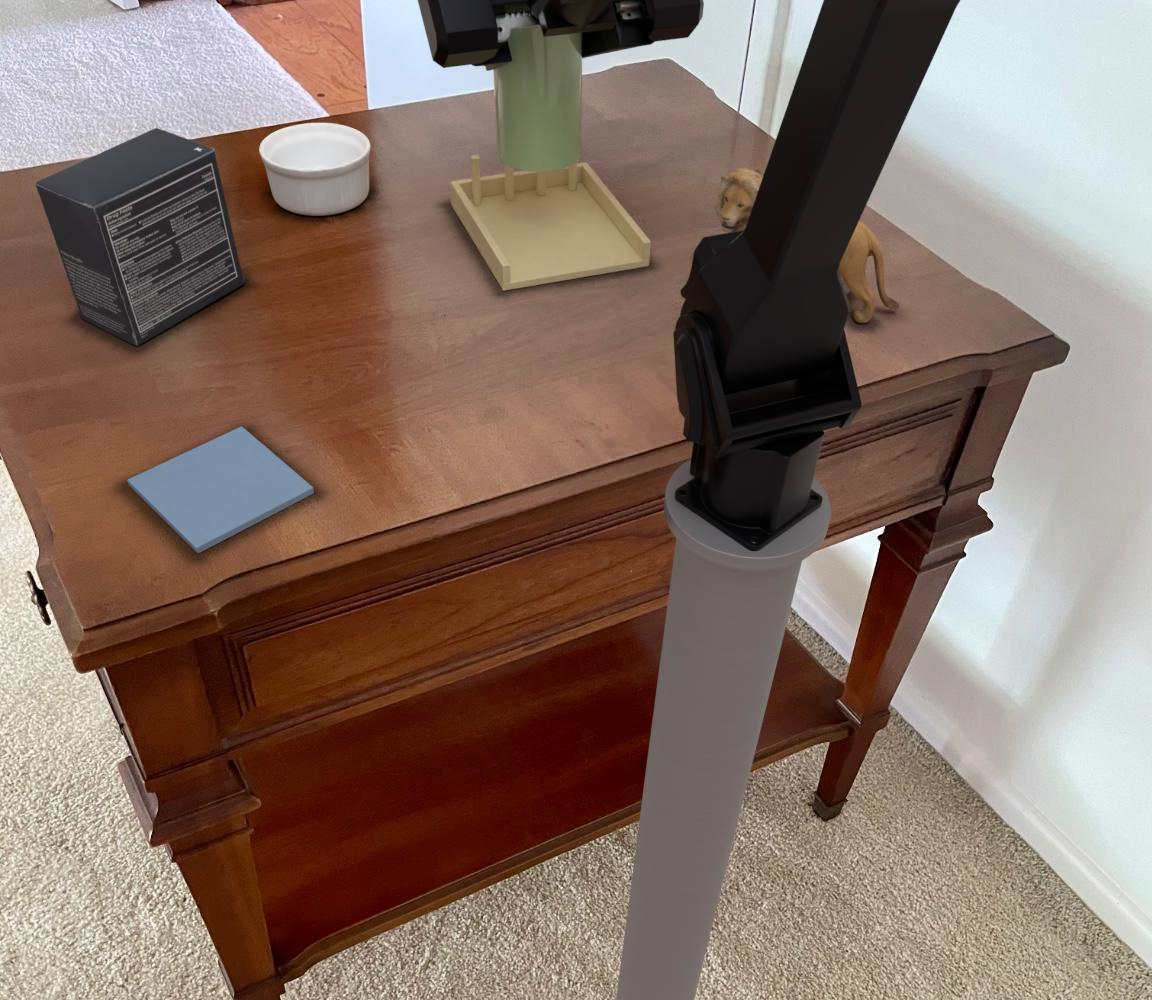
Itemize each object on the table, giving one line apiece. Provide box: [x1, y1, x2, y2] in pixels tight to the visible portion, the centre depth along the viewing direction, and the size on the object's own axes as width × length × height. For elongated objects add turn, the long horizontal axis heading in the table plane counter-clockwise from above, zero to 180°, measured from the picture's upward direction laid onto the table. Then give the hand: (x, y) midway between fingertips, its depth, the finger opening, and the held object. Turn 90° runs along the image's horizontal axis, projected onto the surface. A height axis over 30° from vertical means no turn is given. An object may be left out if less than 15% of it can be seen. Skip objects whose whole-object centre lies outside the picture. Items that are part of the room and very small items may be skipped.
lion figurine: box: [714, 167, 900, 324], centre depth 83 cm, size 15×5×9 cm, turn 73°
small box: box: [34, 127, 245, 347], centre depth 79 cm, size 11×6×10 cm, turn 146°
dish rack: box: [449, 154, 652, 291], centre depth 90 cm, size 14×12×5 cm
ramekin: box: [258, 122, 371, 217], centre depth 93 cm, size 9×9×4 cm
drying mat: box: [126, 426, 315, 554], centre depth 69 cm, size 8×8×1 cm
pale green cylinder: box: [492, 13, 583, 172], centre depth 81 cm, size 6×6×13 cm
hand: (530, 58), depth 82 cm, fingers closed on pale green cylinder, 6 cm apart
